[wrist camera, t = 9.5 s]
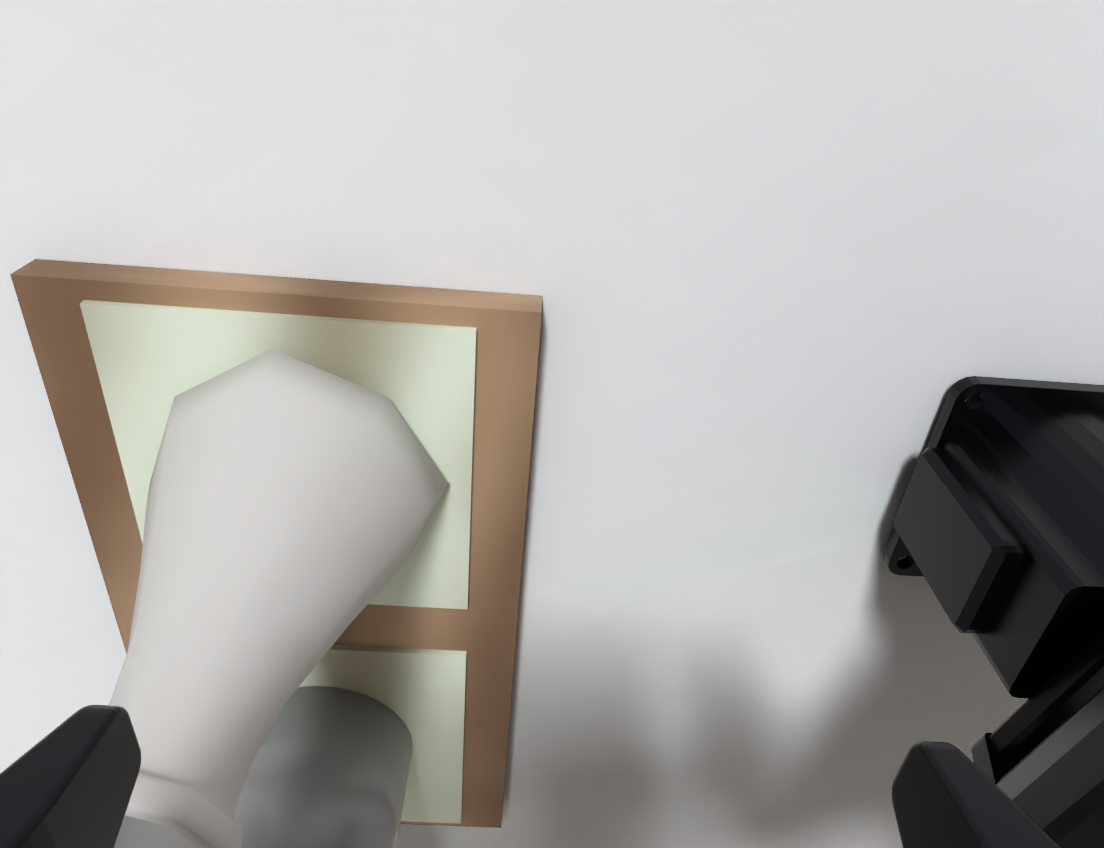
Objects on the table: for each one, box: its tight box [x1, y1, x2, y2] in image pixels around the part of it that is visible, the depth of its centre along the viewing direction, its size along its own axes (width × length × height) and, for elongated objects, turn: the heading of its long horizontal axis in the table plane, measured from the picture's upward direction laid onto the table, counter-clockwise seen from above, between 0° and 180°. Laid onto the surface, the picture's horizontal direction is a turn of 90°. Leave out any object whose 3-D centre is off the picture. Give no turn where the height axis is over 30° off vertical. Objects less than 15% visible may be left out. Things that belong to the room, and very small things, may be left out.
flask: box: [109, 349, 448, 848], centre depth 16 cm, size 7×7×10 cm
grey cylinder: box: [233, 686, 413, 848], centre depth 23 cm, size 6×6×7 cm
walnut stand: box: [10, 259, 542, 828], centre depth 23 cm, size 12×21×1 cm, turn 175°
